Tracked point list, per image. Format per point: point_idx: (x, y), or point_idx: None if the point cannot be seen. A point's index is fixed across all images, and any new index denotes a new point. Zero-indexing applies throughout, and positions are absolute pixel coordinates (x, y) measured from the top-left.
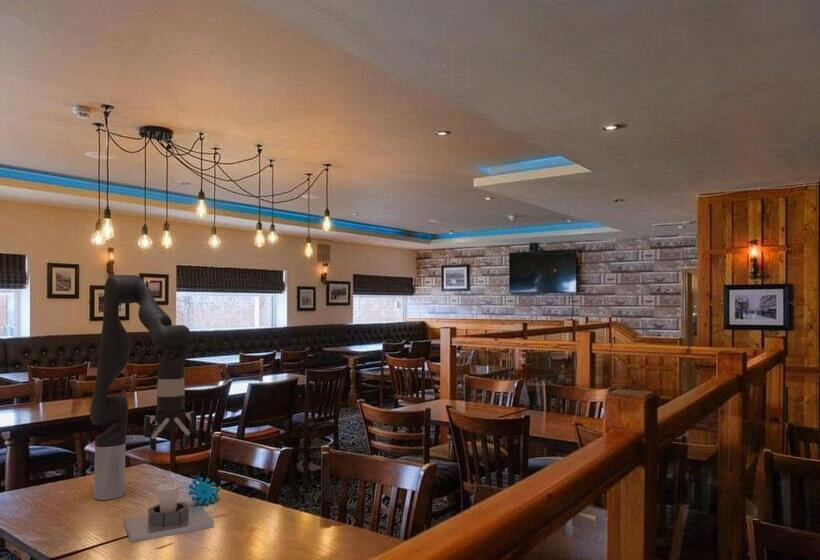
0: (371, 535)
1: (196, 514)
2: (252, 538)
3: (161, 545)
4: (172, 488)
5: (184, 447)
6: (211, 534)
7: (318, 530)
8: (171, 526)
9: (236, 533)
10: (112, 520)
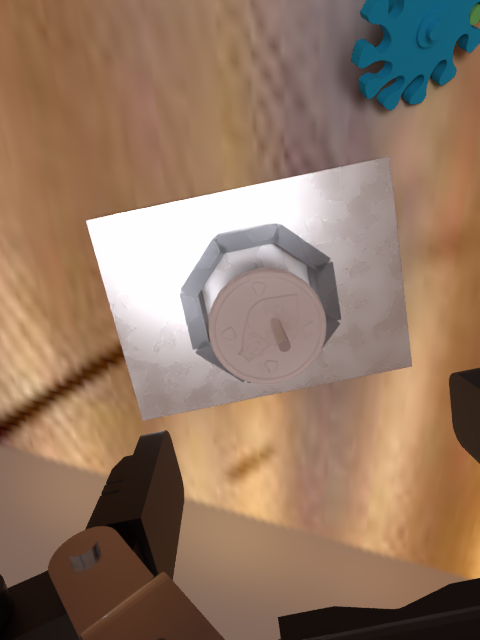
0: None
1: (361, 266)
2: None
3: (240, 459)
4: (288, 366)
5: (457, 429)
6: (388, 420)
7: None
8: None
9: None
10: (41, 159)
